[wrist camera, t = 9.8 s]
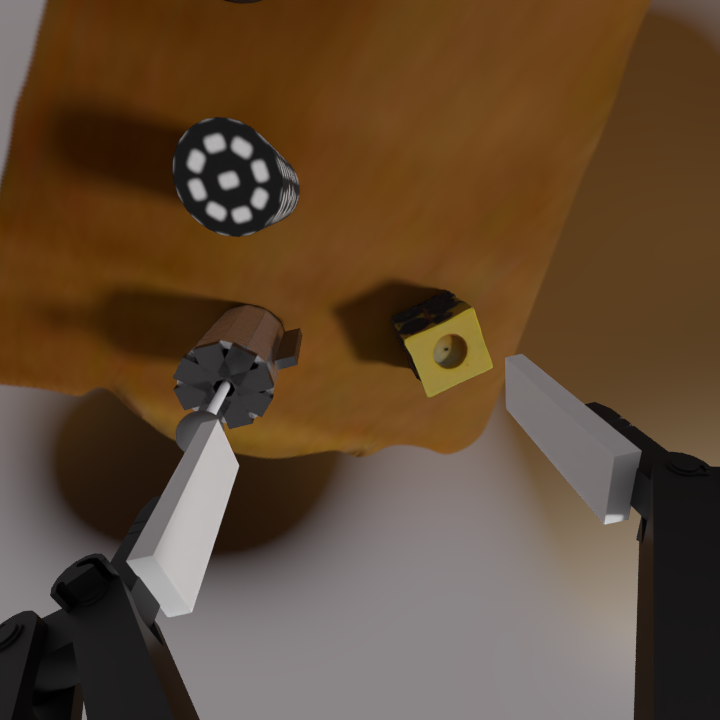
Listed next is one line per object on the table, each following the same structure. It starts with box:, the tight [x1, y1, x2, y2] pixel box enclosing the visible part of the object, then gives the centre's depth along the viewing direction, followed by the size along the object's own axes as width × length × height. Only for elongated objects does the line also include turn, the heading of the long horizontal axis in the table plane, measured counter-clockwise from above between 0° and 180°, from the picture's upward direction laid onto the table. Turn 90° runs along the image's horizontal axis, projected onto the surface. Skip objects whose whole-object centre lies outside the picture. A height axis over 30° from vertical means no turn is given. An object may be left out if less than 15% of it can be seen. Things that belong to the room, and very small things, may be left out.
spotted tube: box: [173, 117, 299, 237], centre depth 37 cm, size 8×8×20 cm
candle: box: [391, 291, 493, 398], centre depth 52 cm, size 10×10×10 cm
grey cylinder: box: [173, 305, 302, 429], centre depth 47 cm, size 10×13×16 cm
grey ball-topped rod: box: [176, 348, 258, 452], centre depth 41 cm, size 8×8×24 cm
